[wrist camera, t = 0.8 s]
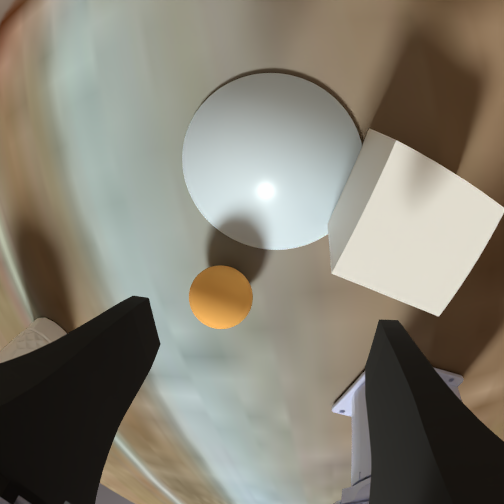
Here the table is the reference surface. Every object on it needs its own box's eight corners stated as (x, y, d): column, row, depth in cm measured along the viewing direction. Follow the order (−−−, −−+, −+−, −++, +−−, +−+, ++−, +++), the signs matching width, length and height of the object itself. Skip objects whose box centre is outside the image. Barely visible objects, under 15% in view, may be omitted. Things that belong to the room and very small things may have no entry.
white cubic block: (455, 175, 14) (505, 209, 9) (411, 259, 17) (438, 316, 12) (369, 128, 14) (396, 139, 9) (327, 222, 17) (331, 273, 12)
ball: (266, 267, 19) (254, 304, 16) (247, 312, 21) (234, 350, 18) (208, 245, 19) (186, 277, 16) (195, 291, 21) (174, 326, 18)
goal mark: (391, 117, 14) (392, 117, 14) (319, 272, 19) (319, 273, 18) (212, 52, 14) (211, 51, 14) (167, 212, 19) (166, 213, 19)
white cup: (23, 307, 28) (-31, 361, 19) (67, 317, 26) (7, 385, 17) (49, 358, 31) (7, 411, 22) (94, 372, 30) (50, 438, 21)
